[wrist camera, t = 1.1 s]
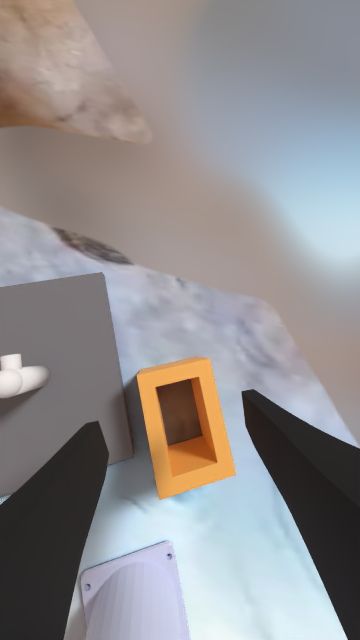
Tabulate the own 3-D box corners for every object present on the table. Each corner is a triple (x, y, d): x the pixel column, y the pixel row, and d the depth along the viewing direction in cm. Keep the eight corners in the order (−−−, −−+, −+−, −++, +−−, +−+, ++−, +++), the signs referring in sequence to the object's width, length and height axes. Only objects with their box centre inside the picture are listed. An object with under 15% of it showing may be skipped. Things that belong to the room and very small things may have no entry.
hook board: (134, 452, 19) (125, 496, 13) (-30, 499, 17) (-126, 576, 11) (104, 275, 22) (85, 247, 16) (-45, 298, 19) (-131, 275, 14)
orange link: (216, 444, 20) (236, 474, 15) (158, 462, 19) (159, 500, 15) (197, 356, 21) (209, 358, 17) (140, 369, 21) (136, 375, 16)
